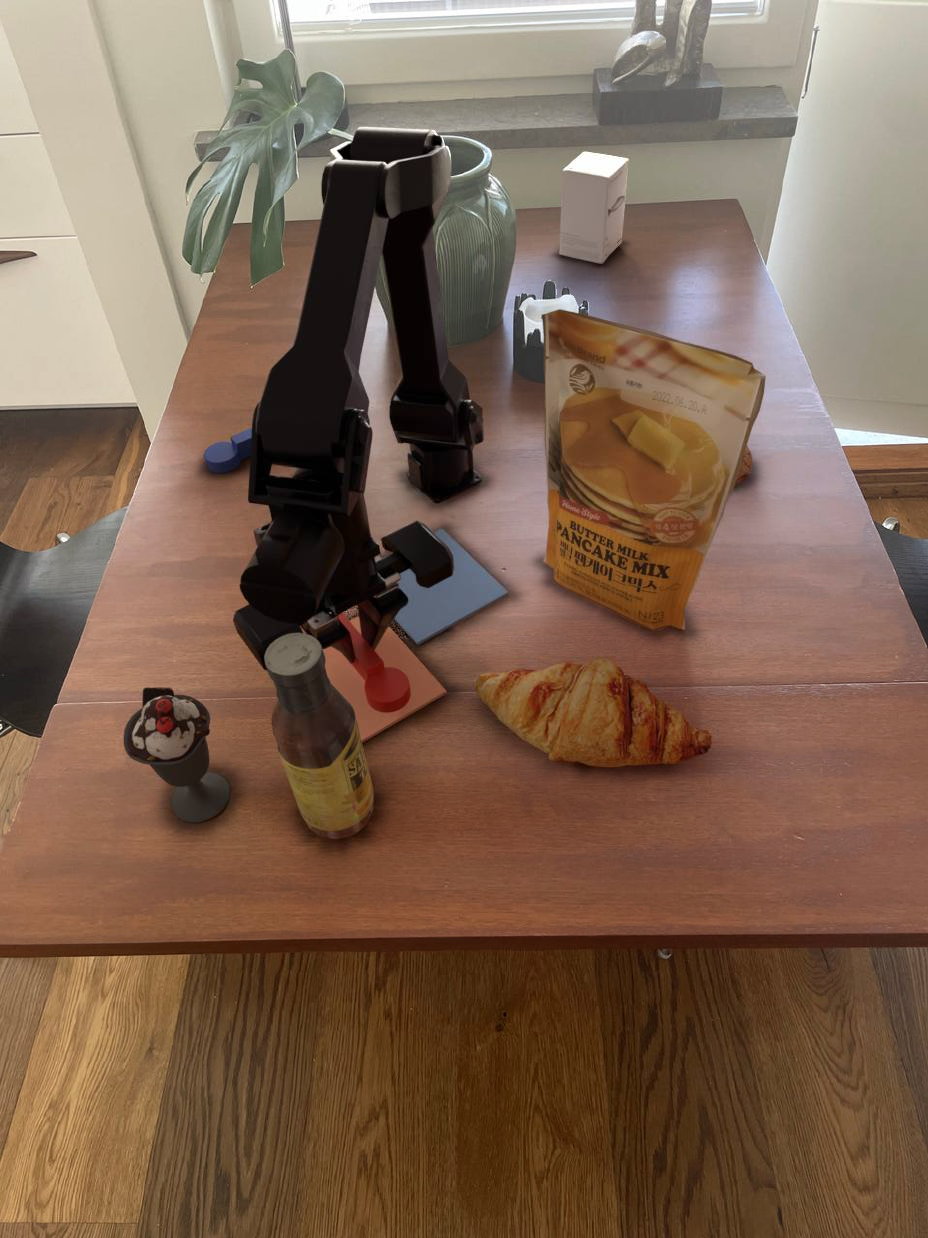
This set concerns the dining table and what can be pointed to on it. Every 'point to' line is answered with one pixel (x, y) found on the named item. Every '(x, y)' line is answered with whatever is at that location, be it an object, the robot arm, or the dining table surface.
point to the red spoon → (378, 675)
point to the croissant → (591, 715)
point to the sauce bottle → (318, 740)
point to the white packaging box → (592, 206)
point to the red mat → (392, 656)
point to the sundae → (177, 751)
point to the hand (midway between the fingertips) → (359, 654)
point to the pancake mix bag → (639, 460)
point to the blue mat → (446, 595)
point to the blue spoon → (228, 452)
